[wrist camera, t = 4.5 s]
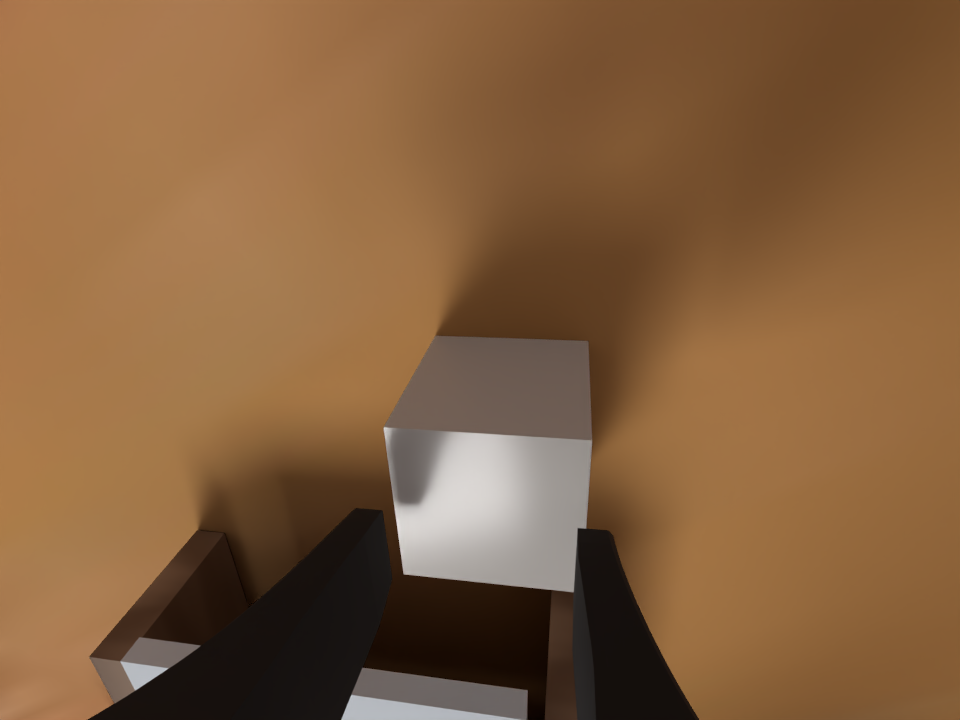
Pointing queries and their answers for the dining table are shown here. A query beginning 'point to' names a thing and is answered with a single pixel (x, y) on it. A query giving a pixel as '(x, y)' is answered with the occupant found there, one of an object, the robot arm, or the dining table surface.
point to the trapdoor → (367, 690)
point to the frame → (220, 600)
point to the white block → (493, 461)
